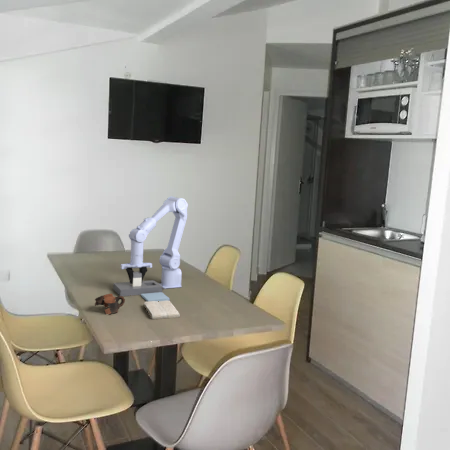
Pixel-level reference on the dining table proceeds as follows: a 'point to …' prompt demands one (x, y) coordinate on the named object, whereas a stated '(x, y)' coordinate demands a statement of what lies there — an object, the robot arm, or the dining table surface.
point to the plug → (137, 279)
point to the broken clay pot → (110, 302)
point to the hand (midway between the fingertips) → (135, 283)
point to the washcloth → (161, 309)
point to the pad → (155, 297)
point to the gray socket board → (137, 288)
